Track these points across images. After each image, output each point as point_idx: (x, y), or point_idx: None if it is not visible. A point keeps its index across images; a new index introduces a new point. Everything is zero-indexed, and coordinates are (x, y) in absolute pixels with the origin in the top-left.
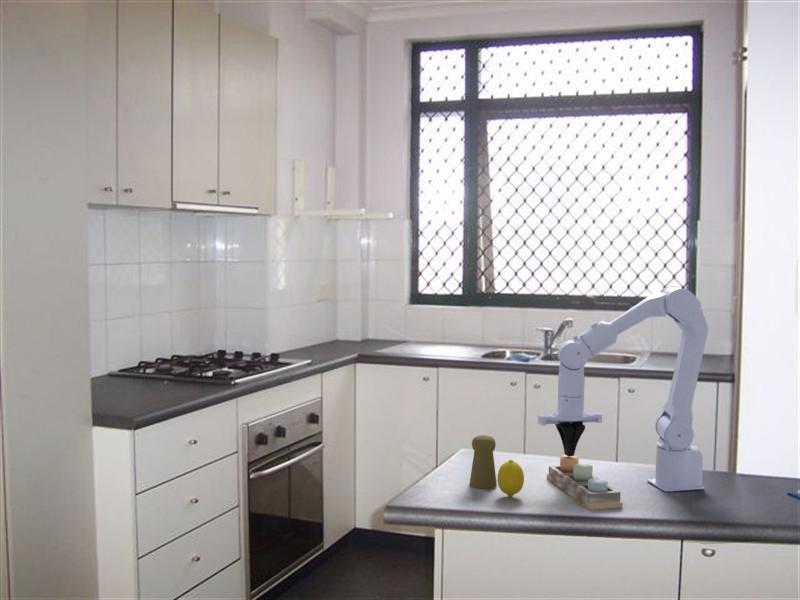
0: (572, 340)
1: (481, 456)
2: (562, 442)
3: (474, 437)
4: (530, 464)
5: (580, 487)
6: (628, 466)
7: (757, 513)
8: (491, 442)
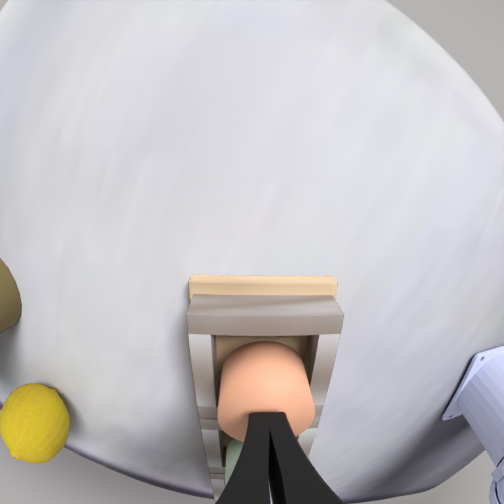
0: None
1: None
2: (236, 463)
3: None
4: (210, 43)
5: (212, 485)
6: None
7: (449, 467)
8: None
